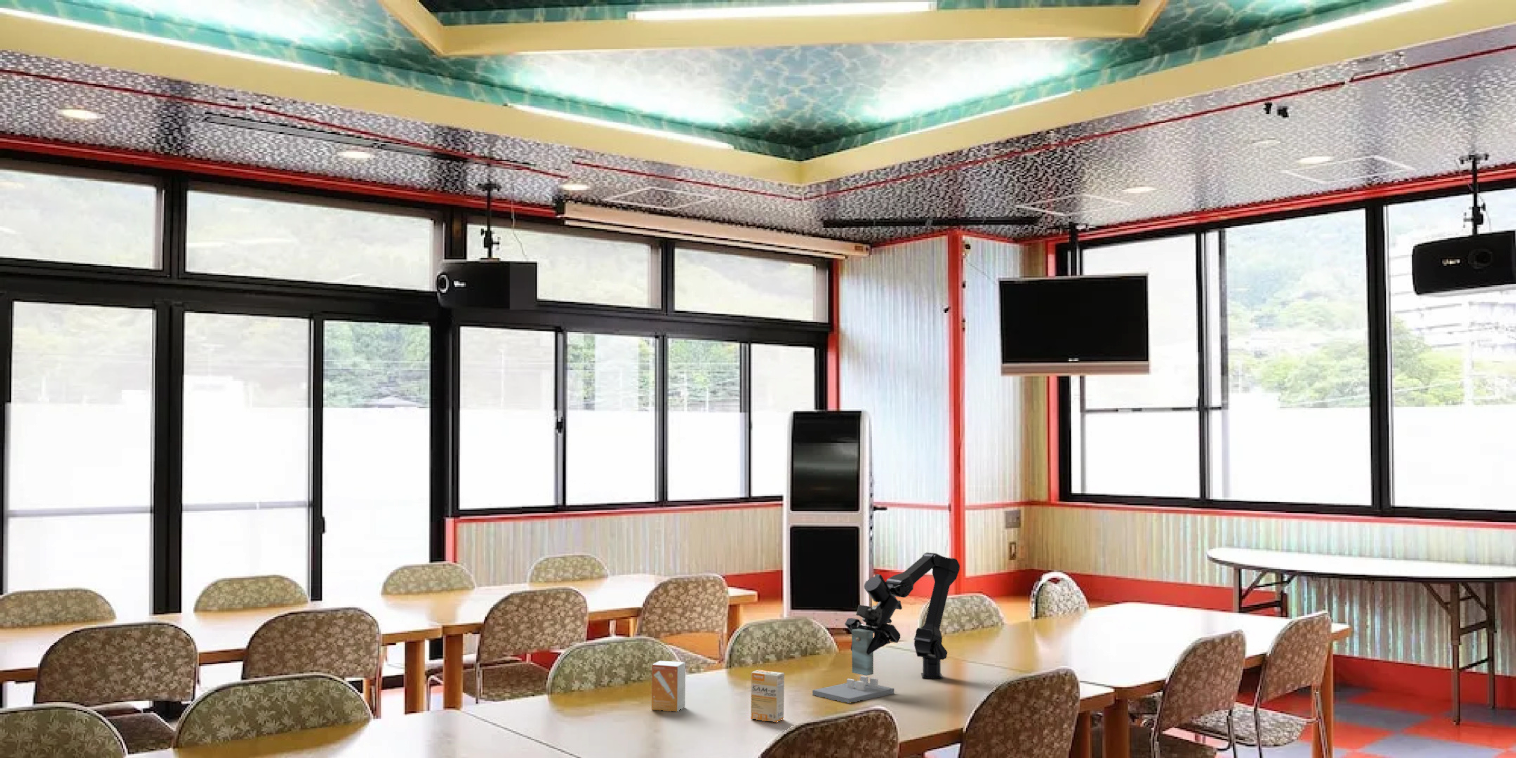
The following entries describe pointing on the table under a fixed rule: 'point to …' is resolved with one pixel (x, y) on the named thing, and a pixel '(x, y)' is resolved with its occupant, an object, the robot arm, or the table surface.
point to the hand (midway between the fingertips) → (859, 652)
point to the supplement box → (767, 695)
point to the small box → (668, 685)
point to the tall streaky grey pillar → (861, 652)
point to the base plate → (854, 690)
